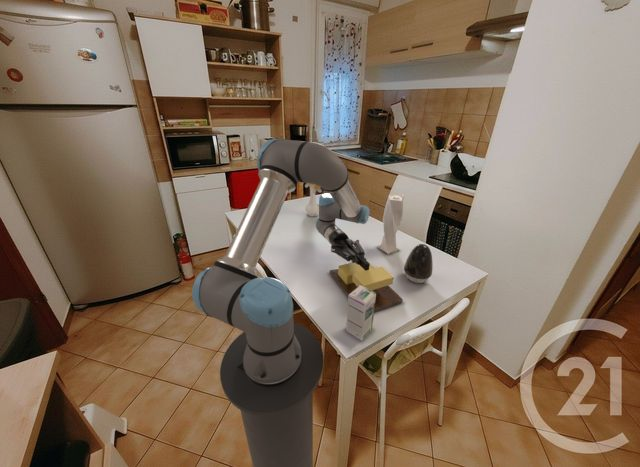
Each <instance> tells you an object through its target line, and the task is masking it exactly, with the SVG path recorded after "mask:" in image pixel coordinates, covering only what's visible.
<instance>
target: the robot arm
mask: <svg viewBox="0 0 640 467" xmlns="http://www.w3.org/2000/svg"><path fill="white" fill-rule="evenodd" d="M256 159H257V161H256V167H257V170H258V173H257V174H258V177H259V180H260V181H259V182H258V185H257V187H256V189H255V191H254V193H253V195H252V198H251V200H250V202H249V204H248V206H247V208H246V210H245V213H244V214H243V217H242V219H241V221H240V223H239V225H238V227H237V230H236V232H235V234H234V236H233V238H232V240H231V242H230V244H229V247H228V249H227V250H226V252H225V255H224V256H222V257H219V258H217V259H216V260H215V261H214V264H213V265H212V266H209V267H206V268H204V270H203V271H201V272H199V274H197V276H196V278H195V279H194V282H193V285H192V290H191V298H192V301H193V304H194V306H195V308H197V309H198V310H199V311H200V312H202V313H204V314H205V315H206V316H208V317H210V318H214V319H216V320H218V321H220V322H222V323H224V324H227V325H229V326H231V327H234V328H235V329H237V330H240V331H242V333H243V332H245V333H246V338H247V345H246V348H245V352H244V356H243V362H242V363H241V364H239V365H237V368H240V367H241V366H244V370H245V373H246V375H247V377H248V378H249V379H250V380H251V381H252V382H254V383H256V384H258V385H261V386H276V385H280V384H282V383H284V382H286V381H288V380H289V379H291V378H292V377H293V376H294V375H295V374H296V372H297V371H298V369H299V367H300V365H301V360H302V352H301V347H300V344H299V342H298V340H297V338H296V337H295V335H294V325H293V322H294V303H293V296H292V293H291V290H290V288H289V286H288V285H286V284H285V283H284V282H283V281H281V280H280V279H277V278H274V277H269V276H265V277H264V278H262V277H259V274H258V271H257V269H256V268H257V265H258V263H259V260H260V258H261V256H262V254H263V251H264V249H265V247H266V244H267V242H268V240H269V238H270V235H271V232H272V231H273V228H274V226H275V224H276V221H277V219H278V217H279V214H280V212H281V209H282V207H283V205H284V203H285V201H286V198H287V195H288V194H290V193H292V192H295V190H296V189H297V186H298V183H303V184H306V183H310V184H314V185H318V186H320V187H321V188H320V189H321V190H323V191H324V192H326V193H323V194H321V195H320V196H319V199H318V205H319V213H318V218H317V219H316V221H315V222H314V226H315V229H316V230H317V232H318V233H319V234H320V235H321V236H322V237H323V238H324V239H325V240H326V242H328V243H329V244H330V245H331V246H330V252H331V253H333V254H336V255H337V256H339V257H340V258H342V259H343V260H345V261H346V262H351V263H356V264H358V265H360V266H361V267H362V268H363V269H364V270H365V271H366V270H369V265H370V264H371V263H370V262H369V261H368V260H367V258H366V257H365V256H366V251H365V249H364V248H363V247H362V245H361V244H360V240H359V239H356V240H355V241H354V240H352V239H351V238H349V236H348V234H346V233H345V231H343V230H342V229H341V228H340V227H339V226H338V225H336V220H341V221H347V222H351V223H353V224H354V223H355V224H361V225H366V224H367V222H368V221H369V218H370V213H371V212H370V211H371V210H370V207H369V206H367V205H364V204H361V203H360V200H359V198H358V197H357V195H356V192H355V190H354V188H353V187H352V184H351V182H350V181H349V177H350V176H349V171H348V169H347V167H346V165H345V163H344V162H343V161H342V160H341V158H340V157H339V156H337V154H336V153H335V152H333V151H332V150H331V149H330V148H329V147H327V146H325V145H323V144H321V143H318V142H315V141H306V140H305V141H303V140H292V139H286V138H272V139H271V138H270V139H268V140H267V141H265V142H264V143H262V145H261V147H260V148H259V150H258V152H257V156H256Z"/></svg>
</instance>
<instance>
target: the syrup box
mask: <svg viewBox="0 0 640 467" xmlns="http://www.w3.org/2000/svg"><path fill="white" fill-rule="evenodd" d="M375 299H376V293H375V292H373V291H371V290H370V289H368V288H366V287H363V286H361V285H359V286H358V287H357V288H356V289H355V290H353V291H352V292H351V293H350V294H349V295H348V297H347V312H346V332H347V333H349V334H350V335H352V336H354V337H355V338H357V339H358V340H359V341H363V340H364V339H365V338H366V337H367V336H368V335H369V333H370V332H371V331H372V330H373V325H374V324H373V323H374V315H375V312H374V308H375Z"/></svg>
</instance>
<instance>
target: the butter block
mask: <svg viewBox="0 0 640 467" xmlns="http://www.w3.org/2000/svg"><path fill="white" fill-rule="evenodd" d="M373 268H375V267H374V266H373V265H372V264H371V263H370V265H369V270H370V269H373ZM337 269H338V275H339V276H340V277H341V278H342V280H343V281H344V282H345V283H346V284H351V283H354V282H353V281H352V279H353V274H355V273H359V272H362V271H365V270H364V269H363V268H362V267H361V266H360V265H358V264H356V263H352V262H348V263H344V264H341V265H338V267H337Z"/></svg>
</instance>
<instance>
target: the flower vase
mask: <svg viewBox="0 0 640 467" xmlns="http://www.w3.org/2000/svg"><path fill="white" fill-rule="evenodd" d="M303 184H304V183H303V182H301V184H300V186H302V185H303ZM304 187H305V188H308V187H309V202H308V203H307V204H306V205H305V207H304V211H305V213H306V214H307V216H309V217H316V216H319V203H318V202H317V199H316V193H317V192H318V193H322V192H323V191H322V190H323V189H322V188H321V187H320V186H318V185H314V184H310V183H305V184H304Z"/></svg>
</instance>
